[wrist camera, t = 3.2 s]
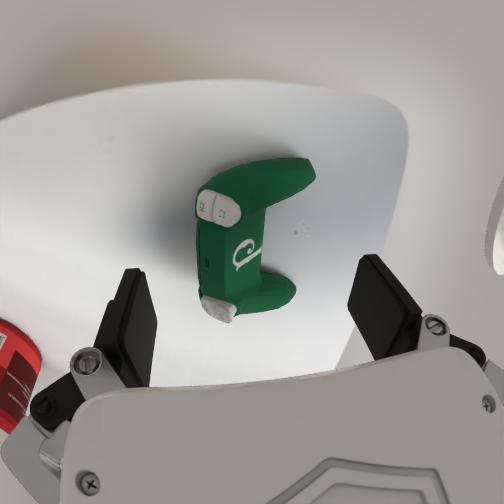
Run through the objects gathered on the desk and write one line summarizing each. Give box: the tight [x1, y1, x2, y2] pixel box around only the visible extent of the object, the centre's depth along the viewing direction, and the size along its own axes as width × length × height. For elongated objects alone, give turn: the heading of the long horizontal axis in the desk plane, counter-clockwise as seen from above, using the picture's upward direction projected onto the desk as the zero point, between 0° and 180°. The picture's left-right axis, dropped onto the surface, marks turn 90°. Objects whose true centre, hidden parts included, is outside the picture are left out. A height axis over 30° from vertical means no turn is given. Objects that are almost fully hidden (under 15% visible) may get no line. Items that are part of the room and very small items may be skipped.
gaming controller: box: [195, 158, 316, 323], centre depth 15 cm, size 9×4×6 cm
